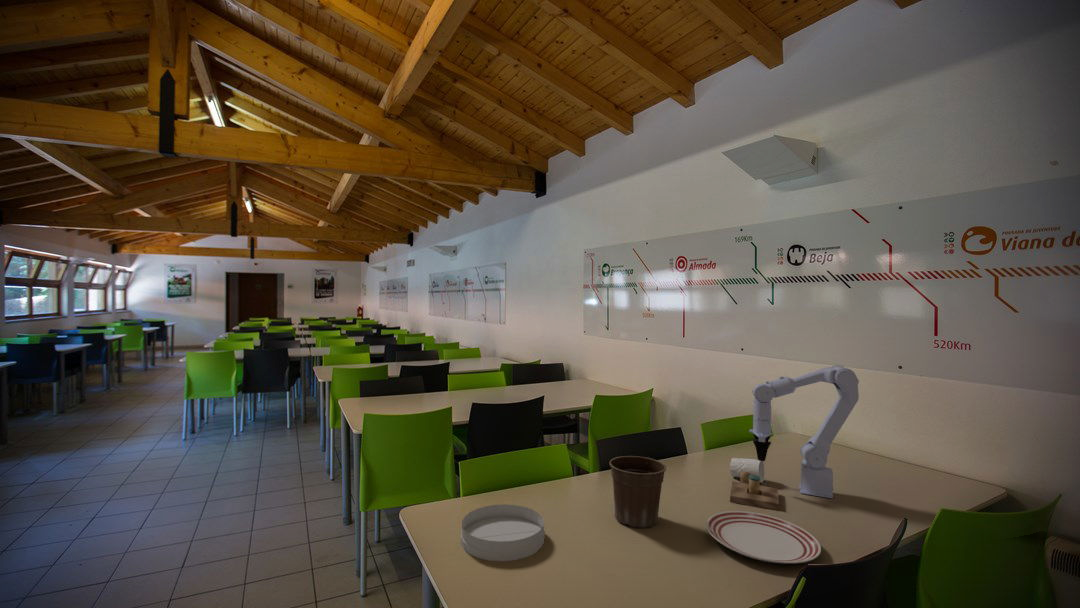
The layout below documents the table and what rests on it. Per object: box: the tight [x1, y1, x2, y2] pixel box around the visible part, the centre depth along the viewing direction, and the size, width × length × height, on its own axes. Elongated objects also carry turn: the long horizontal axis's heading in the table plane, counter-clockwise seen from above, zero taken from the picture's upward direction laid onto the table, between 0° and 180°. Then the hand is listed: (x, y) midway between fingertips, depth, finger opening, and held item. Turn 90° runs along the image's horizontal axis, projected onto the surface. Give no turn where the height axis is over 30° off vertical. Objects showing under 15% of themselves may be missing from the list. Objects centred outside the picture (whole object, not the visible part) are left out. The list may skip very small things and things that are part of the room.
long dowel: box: [749, 475, 761, 495], centre depth 159 cm, size 3×3×7 cm
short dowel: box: [740, 472, 751, 484], centre depth 171 cm, size 3×3×4 cm
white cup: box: [729, 457, 765, 484], centre depth 176 cm, size 8×8×10 cm
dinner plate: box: [705, 510, 822, 564], centre depth 128 cm, size 28×27×3 cm
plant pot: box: [609, 455, 667, 529], centre depth 142 cm, size 16×16×16 cm
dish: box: [460, 503, 546, 562], centre depth 128 cm, size 22×22×5 cm
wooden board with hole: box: [729, 481, 780, 511], centre depth 159 cm, size 14×14×2 cm
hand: (761, 457), depth 170 cm, fingers open, 7 cm apart
